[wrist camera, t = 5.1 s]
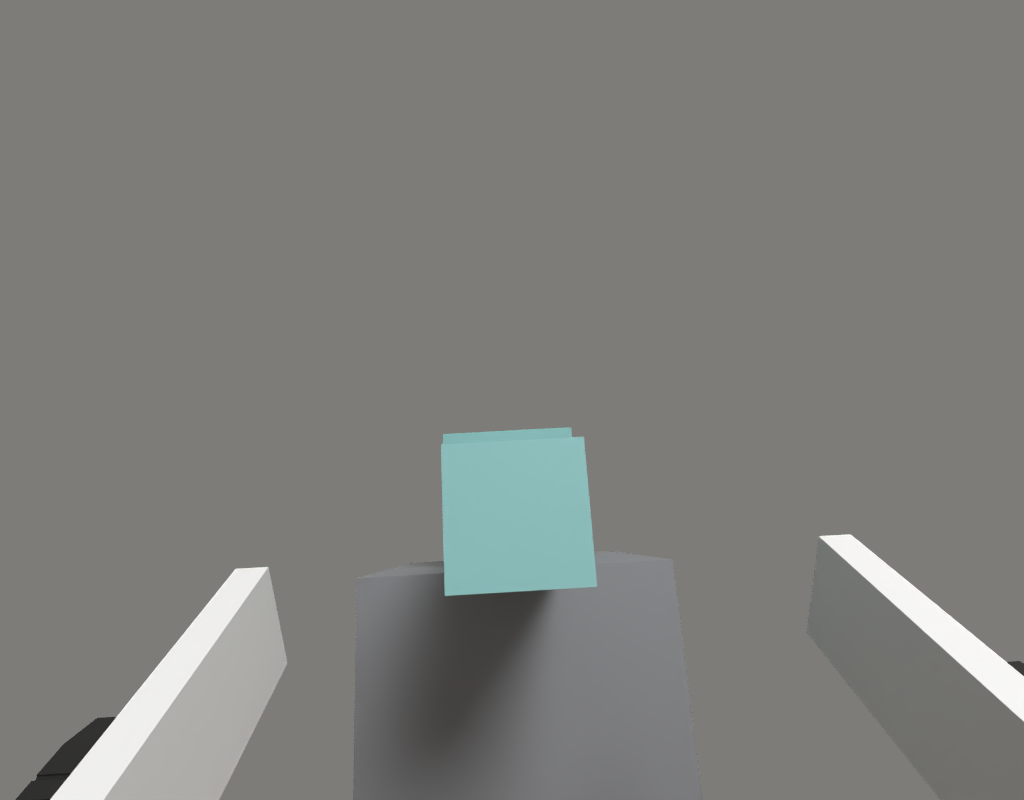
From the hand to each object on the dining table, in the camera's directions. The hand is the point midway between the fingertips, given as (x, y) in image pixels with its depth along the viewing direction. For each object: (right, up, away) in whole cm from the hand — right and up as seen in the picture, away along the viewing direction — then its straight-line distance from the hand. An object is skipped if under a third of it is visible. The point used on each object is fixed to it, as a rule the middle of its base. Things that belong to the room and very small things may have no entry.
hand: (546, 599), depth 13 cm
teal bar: (-1, -3, +11) cm, 12 cm away
